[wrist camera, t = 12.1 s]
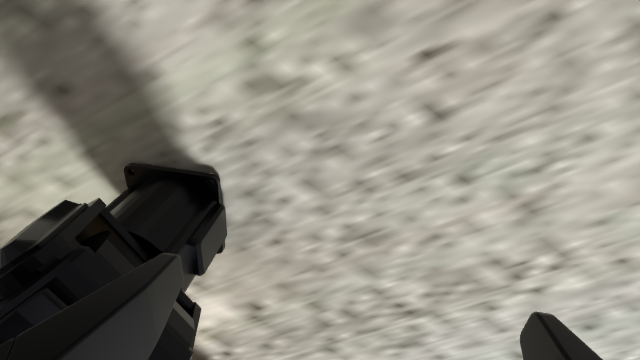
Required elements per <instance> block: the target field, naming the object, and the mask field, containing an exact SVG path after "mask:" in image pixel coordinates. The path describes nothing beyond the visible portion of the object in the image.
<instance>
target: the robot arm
mask: <svg viewBox="0 0 640 360" xmlns="http://www.w3.org/2000/svg"><path fill="white" fill-rule="evenodd" d="M131 169H132V170H133V171H134V172H135V173H134V172H133V171H132V170H131ZM124 173H125V178H126V182H127V187H128V189H127V190H126V191H124V192H123V193H122V194H121V195H120V196H118V197H117V198H116V199H115V200H114V201H112V202H111V203H110V204H109V205H108V206H106V204H105V203H104V202H103V201H102V200H101V199H100V198H98V199H96V200H94V201H92V202H90V203H88V204H86V203H84V204H81V203H80V204H77V203H74V202H71V201H67V200H64V201H63V202H61V203H59V204H58V205H56V206H55V207H53V208H52V209H50V210H49V211H48V212H46V213H45V214H43V215H42V216H40V217H39V218H38V219H36V220H35V221H33V222H32V223H31V224H29V225H28V226H27V227H26V228H24V229H23V230H22V231H21V232H20V233H18V234H17V235H16V236H15V237H14V238H12V239H11V240H10V241H9V242H8V243H6V244H5V245H4V246H3V247H2V248H1V249H0V360H191V359H192V355H193V346H194V341H195V336H196V332H197V327H198V322H199V318H200V313H201V308H200V307H199V305H198V304H197V303H196V302H192V300H191V299H190V298H189V297H188V296H187V295H186V294H185V292H186V290H187V288H188V287H189V285H190V283H191V282H192V280H193V279H194V277H195V275H198V276H202V275H203V274H204V273H205V272H206V270H207V268H208V267H209V265H210V263H211V262H212V260H213V258H214V257H215V255H216V253H217V254H219V253H222V251H223V250H224V248H225V238H226V236H227V226H226V212H225V207H224V205H223V204H222V198H221V185H220V179H219V178H218V176H216V175H214V174H209V173H202V172H195V171H187V170H180V169H173V168H165V167H158V166H151V165H143V164H136V163H130V164H129V165H127V166H126V167H125V168H124ZM209 180H212V181H213V182H214V184H212V183H211V182H210V181H209ZM520 345H521V350H522V355H523V360H603V359H601V358H600V357H599V356H598V355H597V354H596V353H595V352H594V351H593V350H592V349H590V348H589V347H588V346H587V345H586V344H585V343H584V342H583V341H582V340H580V339H579V338H578V337H577V336H576V335H575V334H574V333H573V332H572V331H571V330H569V329H568V328H567V327H566V326H565V325H564V324H563V323H562V322H561V321H559V320H558V319H557V318H556V317H555V316H554V315H552V314H548V313H542V312H533V313H532V314H531V315H530V317H529V319H528V321H527V322H526V324H525V326H524V328H523V330H522V332H521V335H520Z"/></svg>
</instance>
